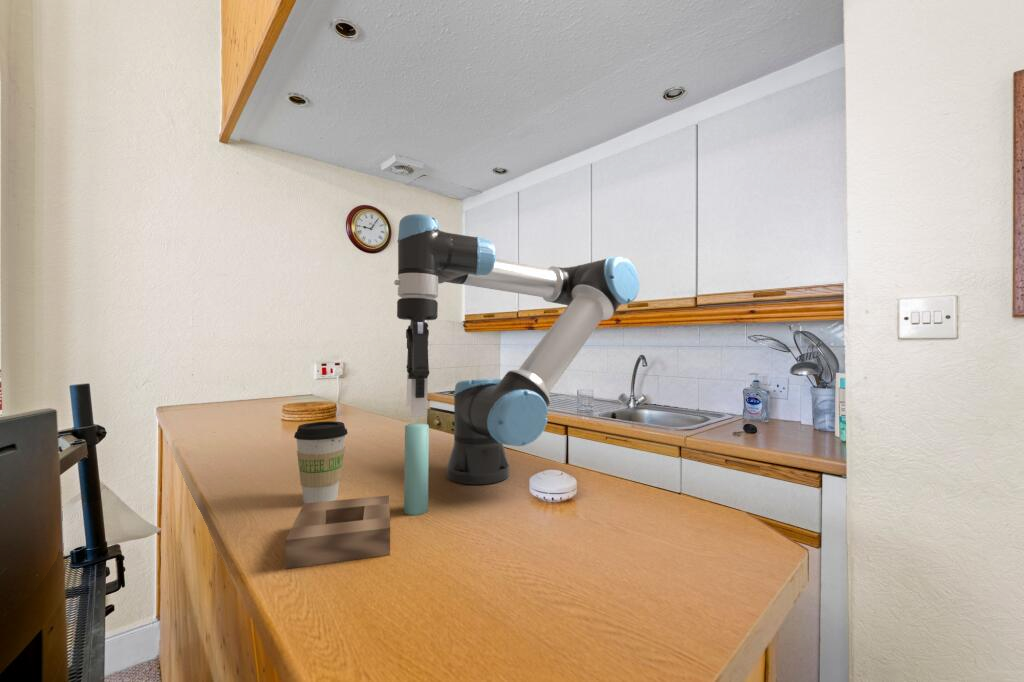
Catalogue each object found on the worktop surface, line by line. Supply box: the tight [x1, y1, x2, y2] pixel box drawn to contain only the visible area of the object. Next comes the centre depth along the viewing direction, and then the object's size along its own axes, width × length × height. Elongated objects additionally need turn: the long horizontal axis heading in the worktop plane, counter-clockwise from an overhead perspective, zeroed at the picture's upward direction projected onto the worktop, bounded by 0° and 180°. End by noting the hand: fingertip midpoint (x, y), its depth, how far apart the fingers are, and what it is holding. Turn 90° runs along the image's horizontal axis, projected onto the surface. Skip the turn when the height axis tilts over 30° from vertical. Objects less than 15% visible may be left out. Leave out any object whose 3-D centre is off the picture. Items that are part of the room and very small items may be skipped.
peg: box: [403, 423, 430, 516], centre depth 79 cm, size 4×4×16 cm
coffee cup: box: [293, 420, 348, 504], centre depth 84 cm, size 10×10×15 cm
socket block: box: [284, 495, 391, 570], centre depth 67 cm, size 14×14×4 cm
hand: (416, 410), depth 79 cm, fingers open, 13 cm apart
